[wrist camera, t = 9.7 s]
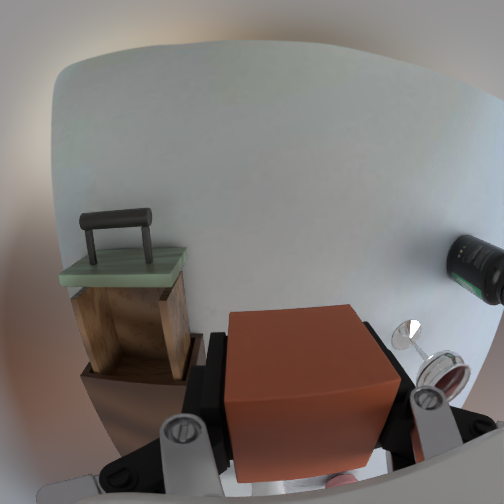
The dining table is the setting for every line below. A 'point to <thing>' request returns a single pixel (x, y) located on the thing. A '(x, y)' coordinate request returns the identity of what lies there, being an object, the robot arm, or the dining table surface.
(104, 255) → the drawer
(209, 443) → the robot arm
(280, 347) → the block
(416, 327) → the wineglass
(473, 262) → the supplement bottle
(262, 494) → the drinking glass
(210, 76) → the dining table surface
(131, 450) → the cabinet
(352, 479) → the pink bulb vase
